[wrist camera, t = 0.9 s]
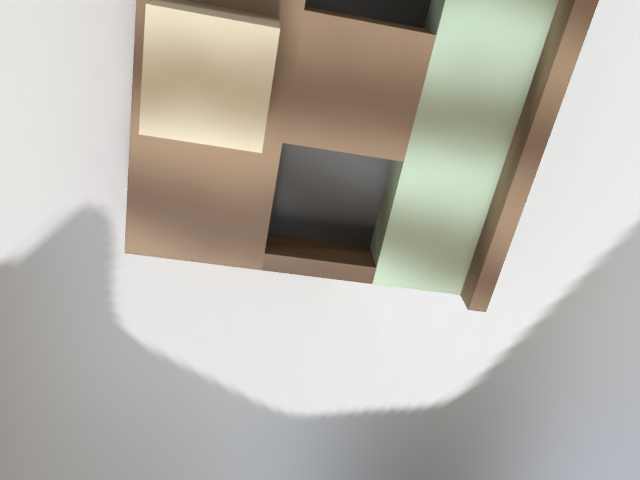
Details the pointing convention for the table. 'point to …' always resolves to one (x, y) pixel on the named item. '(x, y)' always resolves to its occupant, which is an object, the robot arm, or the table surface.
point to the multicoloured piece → (370, 145)
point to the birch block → (207, 74)
